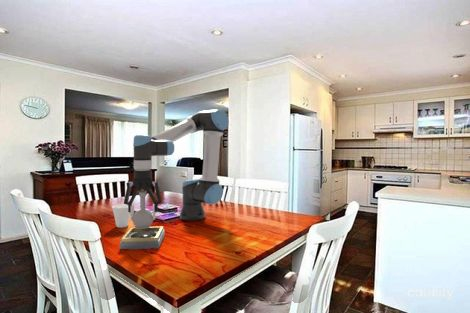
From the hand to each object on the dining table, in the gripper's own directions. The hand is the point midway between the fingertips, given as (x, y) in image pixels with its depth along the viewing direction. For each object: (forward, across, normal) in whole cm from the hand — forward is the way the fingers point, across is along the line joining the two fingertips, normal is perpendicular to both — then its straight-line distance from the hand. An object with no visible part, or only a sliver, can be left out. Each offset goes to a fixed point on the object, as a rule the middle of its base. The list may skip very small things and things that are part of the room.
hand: (143, 219), depth 118 cm
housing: (+11, 0, 0) cm, 11 cm away
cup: (+11, +17, -25) cm, 32 cm away
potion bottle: (+4, 0, 0) cm, 4 cm away
